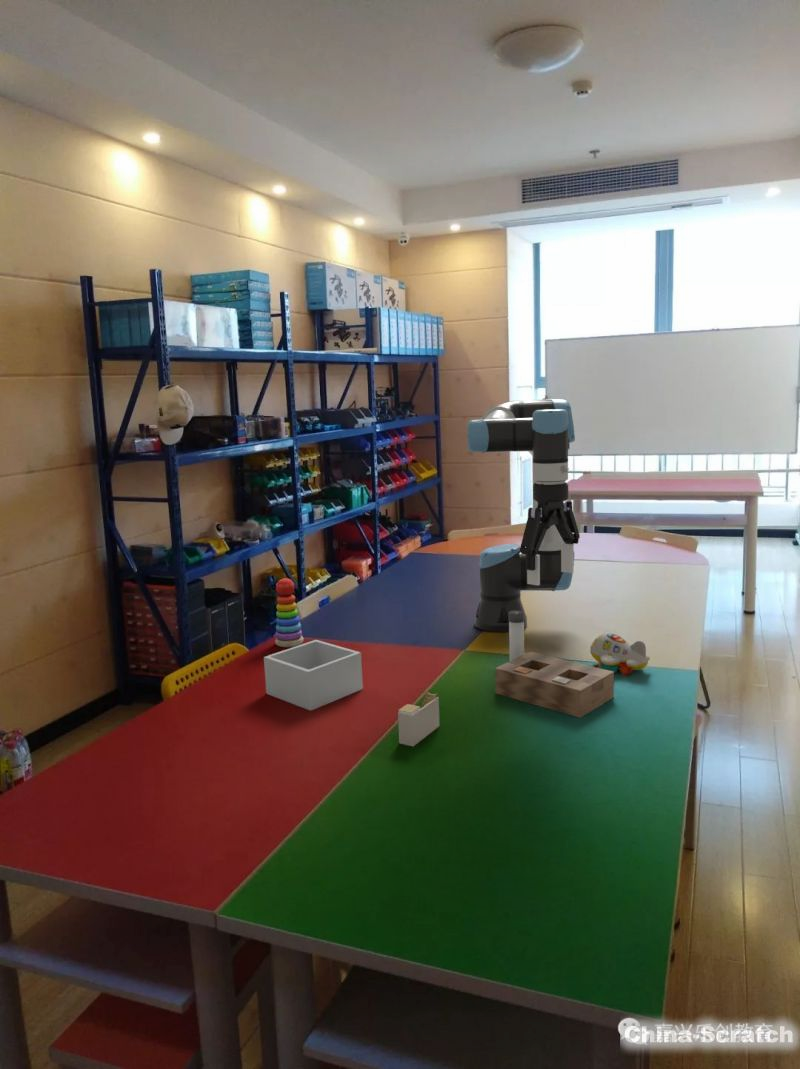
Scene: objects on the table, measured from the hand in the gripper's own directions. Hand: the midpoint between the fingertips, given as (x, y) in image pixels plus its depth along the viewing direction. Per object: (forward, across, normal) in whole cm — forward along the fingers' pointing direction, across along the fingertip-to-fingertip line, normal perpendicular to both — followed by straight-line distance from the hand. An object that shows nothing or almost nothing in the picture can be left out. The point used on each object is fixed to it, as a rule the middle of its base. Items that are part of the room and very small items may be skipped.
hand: (550, 578), depth 173 cm
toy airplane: (+27, +24, -4) cm, 36 cm away
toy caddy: (+27, -32, +44) cm, 61 cm away
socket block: (+27, 0, -1) cm, 27 cm away
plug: (+27, +10, +16) cm, 33 cm away
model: (+28, -34, +10) cm, 45 cm away
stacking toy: (+27, -13, +77) cm, 83 cm away
